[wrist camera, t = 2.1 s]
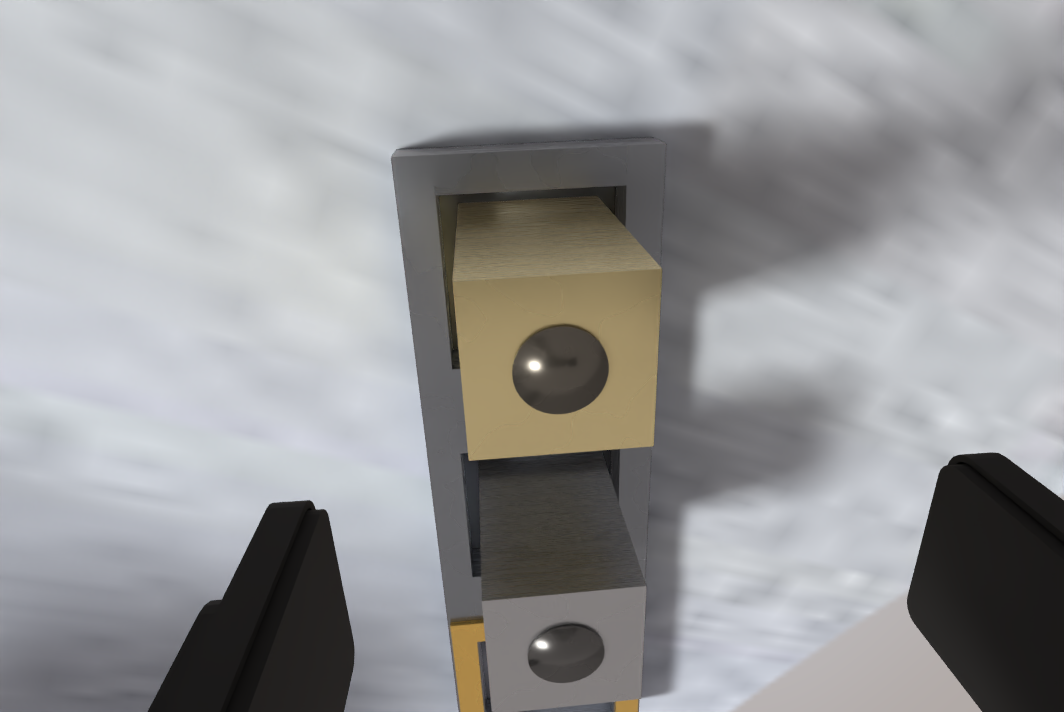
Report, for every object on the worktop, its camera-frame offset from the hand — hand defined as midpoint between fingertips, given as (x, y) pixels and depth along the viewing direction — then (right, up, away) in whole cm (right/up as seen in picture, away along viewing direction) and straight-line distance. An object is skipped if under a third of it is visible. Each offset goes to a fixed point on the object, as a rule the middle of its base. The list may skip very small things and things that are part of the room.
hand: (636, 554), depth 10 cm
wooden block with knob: (-2, +6, +12) cm, 14 cm away
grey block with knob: (-1, -2, +16) cm, 16 cm away
